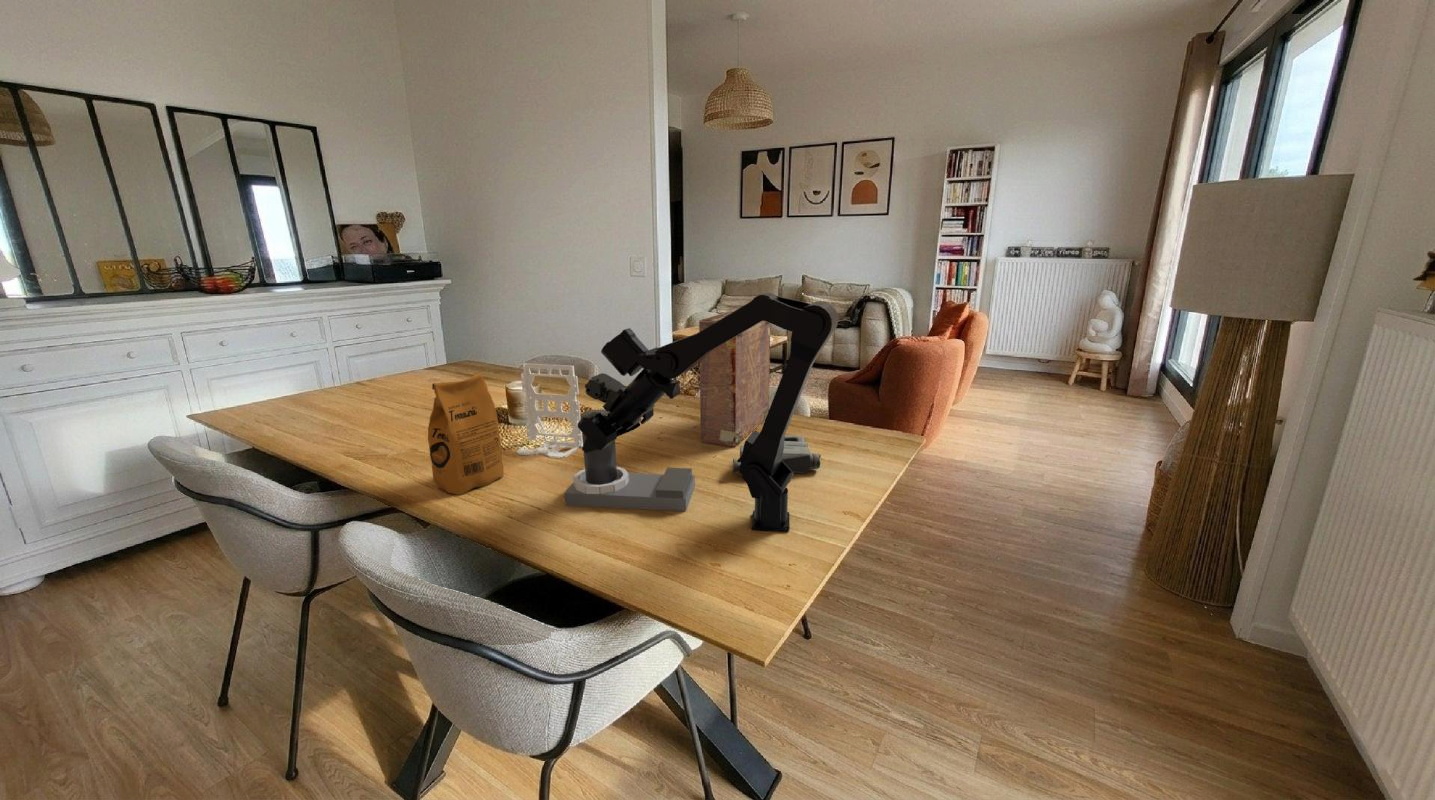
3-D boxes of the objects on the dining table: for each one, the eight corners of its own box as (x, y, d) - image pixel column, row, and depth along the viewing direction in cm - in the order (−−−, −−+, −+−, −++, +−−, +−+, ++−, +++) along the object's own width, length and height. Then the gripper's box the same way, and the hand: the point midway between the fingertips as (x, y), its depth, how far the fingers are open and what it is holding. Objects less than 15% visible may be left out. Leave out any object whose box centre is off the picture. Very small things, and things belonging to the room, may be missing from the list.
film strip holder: (510, 454, 132) (501, 370, 127) (541, 435, 145) (534, 358, 140) (567, 459, 129) (559, 373, 124) (593, 439, 142) (588, 361, 136)
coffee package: (427, 487, 115) (411, 381, 109) (483, 467, 125) (470, 369, 119) (455, 499, 109) (439, 388, 103) (510, 477, 119) (499, 375, 113)
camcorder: (828, 474, 120) (829, 451, 119) (734, 482, 116) (734, 458, 115) (801, 448, 136) (802, 428, 134) (717, 455, 132) (717, 433, 130)
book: (738, 414, 162) (738, 308, 153) (769, 418, 158) (771, 309, 150) (700, 442, 139) (698, 320, 131) (735, 447, 136) (735, 322, 127)
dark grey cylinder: (617, 483, 107) (613, 417, 104) (584, 486, 107) (578, 419, 103) (617, 470, 113) (613, 408, 110) (586, 473, 112) (581, 410, 109)
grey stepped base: (686, 511, 104) (685, 491, 103) (565, 505, 106) (563, 485, 105) (694, 486, 114) (694, 468, 113) (584, 482, 117) (582, 464, 116)
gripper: (636, 352, 111) (592, 401, 117) (582, 372, 94) (534, 429, 101) (674, 394, 110) (627, 441, 117) (627, 422, 93) (575, 475, 100)
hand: (593, 445), depth 109 cm, fingers closed on dark grey cylinder, 6 cm apart
